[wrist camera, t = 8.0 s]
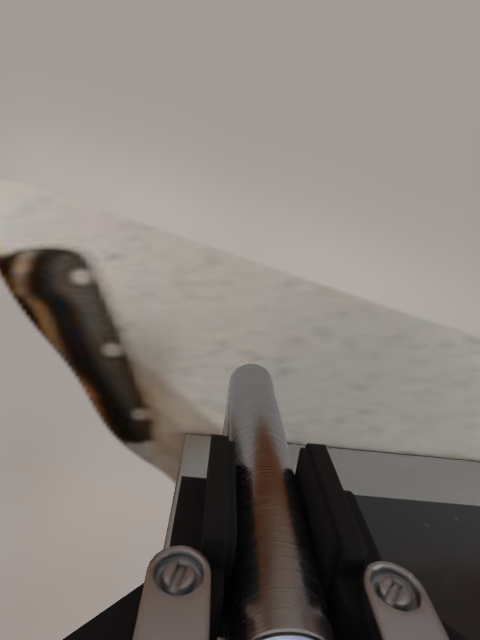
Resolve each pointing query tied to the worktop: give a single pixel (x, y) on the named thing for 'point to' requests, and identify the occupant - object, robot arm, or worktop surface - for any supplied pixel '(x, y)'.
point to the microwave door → (375, 504)
